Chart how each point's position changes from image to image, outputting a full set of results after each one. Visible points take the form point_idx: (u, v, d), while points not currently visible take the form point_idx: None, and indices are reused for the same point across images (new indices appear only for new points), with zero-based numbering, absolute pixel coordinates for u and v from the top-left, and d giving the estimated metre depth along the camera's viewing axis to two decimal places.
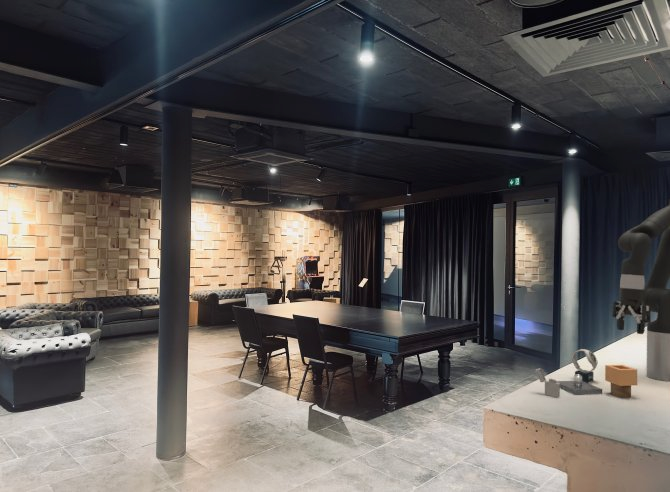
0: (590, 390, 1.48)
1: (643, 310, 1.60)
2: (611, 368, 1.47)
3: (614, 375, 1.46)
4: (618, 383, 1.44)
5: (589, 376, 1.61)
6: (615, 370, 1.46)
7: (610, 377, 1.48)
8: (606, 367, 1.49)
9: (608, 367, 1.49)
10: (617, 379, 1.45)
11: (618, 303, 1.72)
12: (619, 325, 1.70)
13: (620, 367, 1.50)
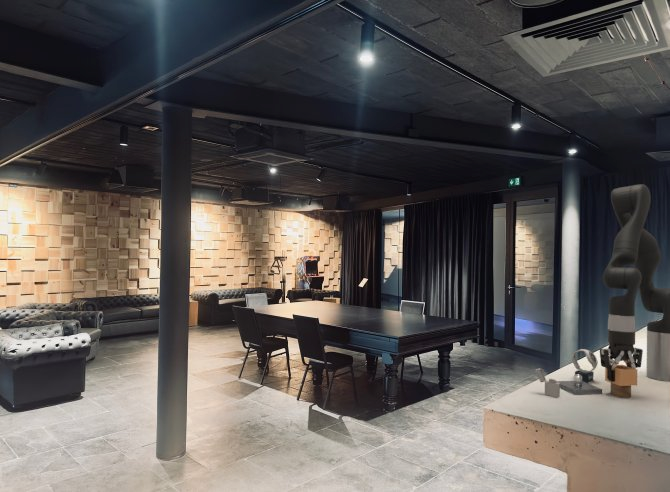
0: (590, 390, 1.48)
1: (640, 354, 1.47)
2: None
3: None
4: (618, 383, 1.44)
5: (589, 376, 1.61)
6: (615, 370, 1.46)
7: None
8: None
9: None
10: (617, 379, 1.45)
11: None
12: None
13: (620, 367, 1.50)
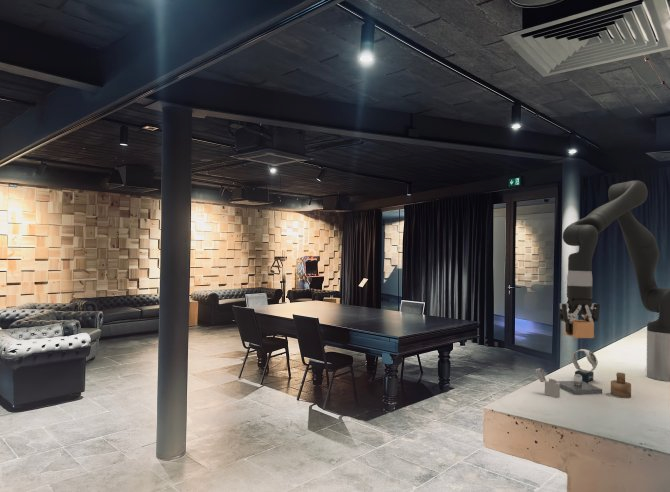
0: (590, 390, 1.48)
1: (598, 309, 1.53)
2: None
3: None
4: (575, 335, 1.50)
5: (589, 376, 1.61)
6: (573, 323, 1.51)
7: None
8: None
9: None
10: (574, 332, 1.50)
11: (565, 305, 1.52)
12: None
13: (579, 322, 1.55)
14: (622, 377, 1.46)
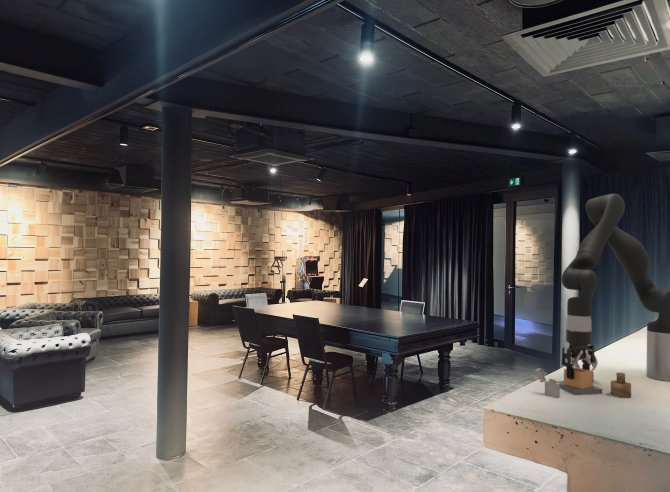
0: (590, 390, 1.48)
1: (593, 350, 1.55)
2: None
3: (575, 378, 1.50)
4: (579, 386, 1.49)
5: None
6: (576, 374, 1.50)
7: (570, 380, 1.52)
8: (565, 371, 1.53)
9: None
10: (578, 382, 1.49)
11: None
12: None
13: (575, 370, 1.55)
14: (622, 377, 1.46)
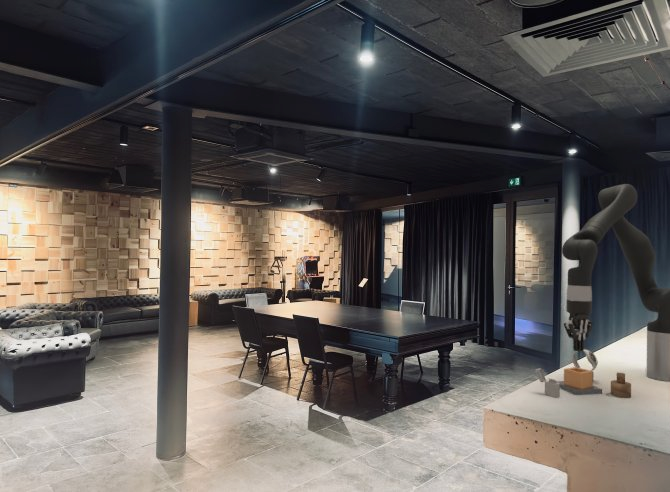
0: (590, 390, 1.48)
1: (591, 326, 1.54)
2: (571, 372, 1.51)
3: (575, 378, 1.50)
4: (579, 386, 1.49)
5: None
6: (576, 374, 1.50)
7: (570, 380, 1.52)
8: (565, 371, 1.53)
9: (567, 371, 1.53)
10: (578, 382, 1.49)
11: (571, 323, 1.50)
12: None
13: (575, 370, 1.55)
14: (622, 377, 1.46)
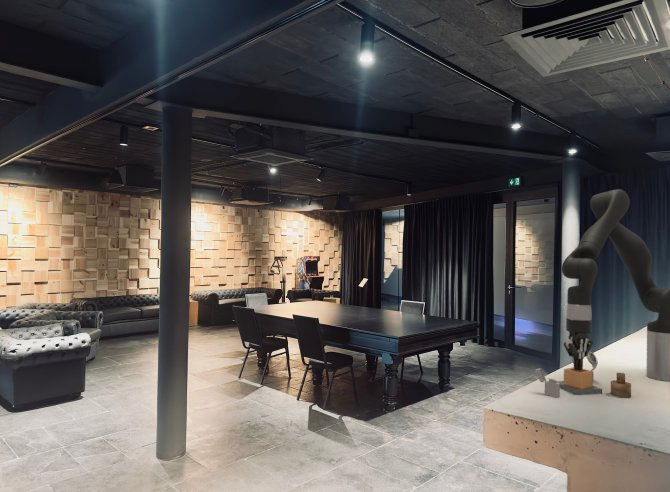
0: (590, 390, 1.48)
1: (590, 345, 1.54)
2: (571, 372, 1.51)
3: (575, 378, 1.50)
4: (579, 386, 1.49)
5: None
6: (576, 374, 1.50)
7: (570, 380, 1.52)
8: (565, 371, 1.53)
9: (567, 371, 1.53)
10: (578, 382, 1.49)
11: (571, 343, 1.50)
12: None
13: (575, 370, 1.55)
14: (622, 377, 1.46)
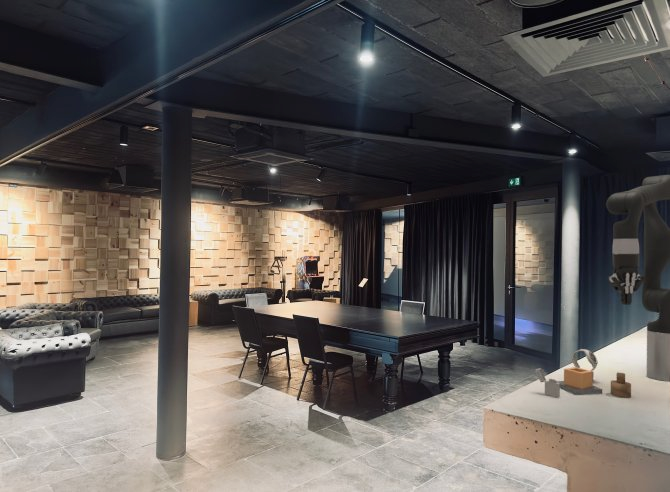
0: (590, 390, 1.48)
1: (641, 281, 1.52)
2: (571, 372, 1.51)
3: (575, 378, 1.50)
4: (579, 386, 1.49)
5: None
6: (576, 374, 1.50)
7: (570, 380, 1.52)
8: (565, 371, 1.53)
9: (567, 371, 1.53)
10: (578, 382, 1.49)
11: (615, 276, 1.51)
12: None
13: (575, 370, 1.55)
14: (622, 377, 1.46)
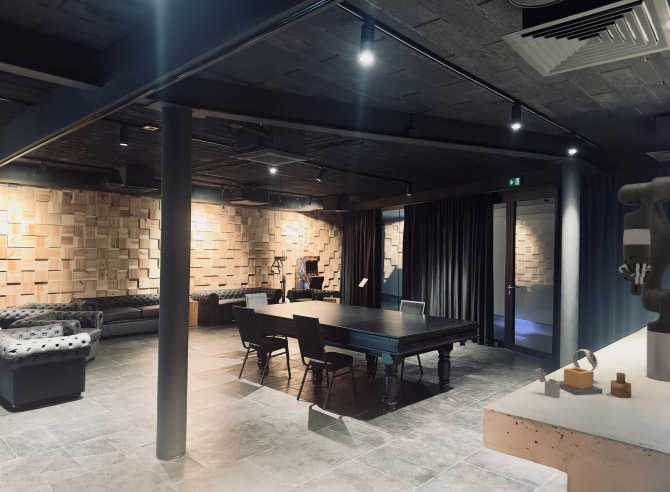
0: (590, 390, 1.48)
1: (652, 272, 1.52)
2: (571, 372, 1.51)
3: (575, 378, 1.50)
4: (579, 386, 1.49)
5: None
6: (576, 374, 1.50)
7: (570, 380, 1.52)
8: (565, 371, 1.53)
9: (567, 371, 1.53)
10: (578, 382, 1.49)
11: (624, 267, 1.51)
12: None
13: (575, 370, 1.55)
14: (622, 377, 1.46)
